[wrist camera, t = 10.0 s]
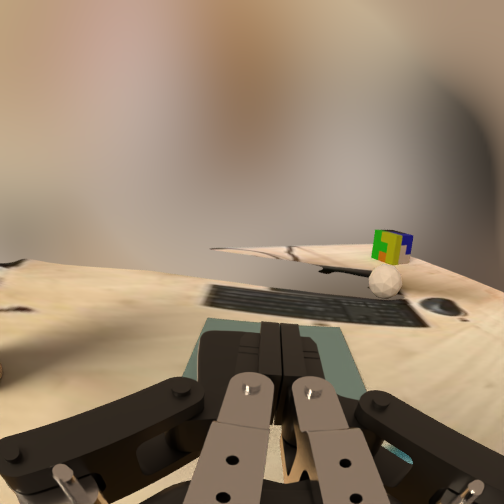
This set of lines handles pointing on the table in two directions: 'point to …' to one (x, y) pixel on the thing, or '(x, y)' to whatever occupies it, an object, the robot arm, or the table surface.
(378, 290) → the geometric ball
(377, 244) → the puzzle toy
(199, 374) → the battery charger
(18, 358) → the table surface
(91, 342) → the table surface
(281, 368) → the robot arm
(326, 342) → the mat
